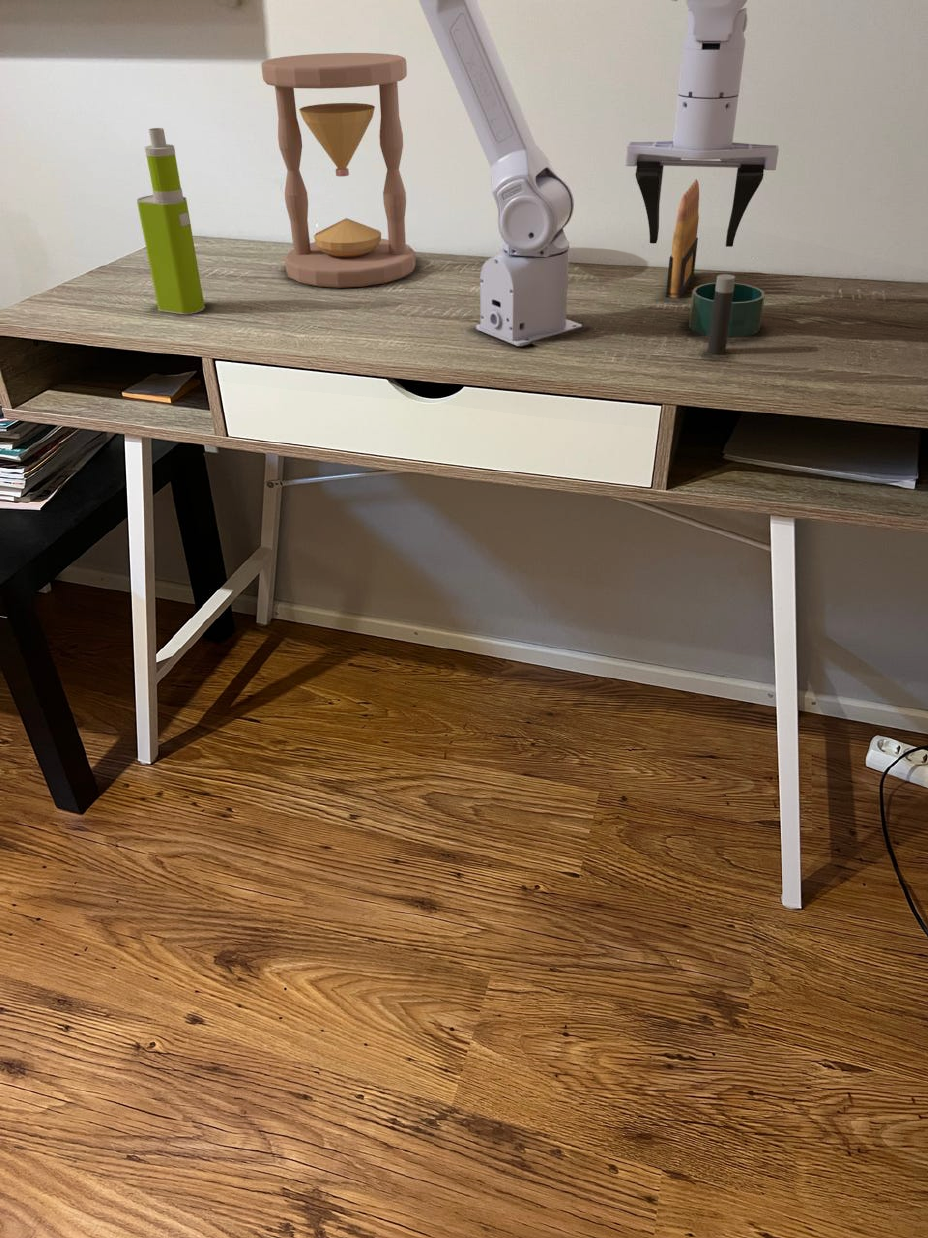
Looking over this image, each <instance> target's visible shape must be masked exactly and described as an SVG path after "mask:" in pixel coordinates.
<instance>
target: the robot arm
mask: <svg viewBox="0 0 928 1238" xmlns="http://www.w3.org/2000/svg"><path fill="white" fill-rule="evenodd" d="M671 1H672V2H677V1H678V0H671ZM747 2H748V0H685V3H686V5H687V7H688V13H687V18H686V19H687V21H686V29H685V30H686V32H685V37H684V38H683V41H682V47H681V59H680V69H679V79H678V88H677V89H678V90H677V97H676V98H677V99H676V109H675V117H674V118H675V119H674V127H673V128H674V129H673V138H672V140H665V141H629V142H628V143H627V145H626V157H625V158H626V159H625V167H636V169H635V172H634V173H635V174H634V175H635V180H636V182H637V186H638V188H639V191H640V194H641V197H642V201H643V203H644V208H645V213H646V216H647V223H648V230H649V231H648V232H649V244H657V243H658V240H659V232H660V205H661V203H660V202H661V192H662V186H663V185H662V183H663V174H664V167H693V168H694V167H696V168H697V167H698V168H727V169H728V168H729V169H730V168H731V169H732V168H733V169H737V170H736V177H735V184H734V185H735V186H734V193H733V201H732V208H731V212H730V217H729V222H728V226H727V231H726V239H725V248H726V247H727V248H732V247H734V242H735V238H736V235H737V232H738V228H739V225H740V224H741V221H742V218H743V216H744V213H745V212H746V210H747V208H748V206H749V204H750V202H751V200H752V198H753V197H754V195H755V193H756V192H757V190H758V188H759V187H760V185H761V183H762V181H763V179H764V173H765V172H764V171H776V169H777V163H778V156H779V151H780V149H779V145H778V144H777V145H774V144H756V143H747V142H745V143H744V142H733V141H734V133H735V125H736V118H737V110H738V102H739V97H740V96H739V94H740V87H741V82H742V81H741V80H742V72H743V65H744V58H745V57H744V56H745V51H746V50H745V49H746V38H745V32H746V29H747V26H748V14H747V13H748V7H745V5H746V4H747ZM418 3H419V5H420V7H421V9H422V11H423V14H424V16H425V18H426V21H427V23H428V25H429V28H430V31H431V33H432V34H433V37H434V40H435V42H436V44H437V46H438V49H439V51H440V53H441V56H442V58H443V60H444V63H445V65H446V67H447V69H448V72H449V75H450V76H451V79H452V81H453V83H454V85H455V88H456V90H457V93H458V95H459V98H460V99H461V103H462V104H463V106H464V109H465V111H466V113H467V116H468V119H469V121H470V123H471V125H472V128H473V129H474V132H475V134H476V137H477V139H478V141H479V143H480V146H481V148H482V150H483V152H484V155H485V157H486V160H487V162H488V164H489V166H490V171H491V172H490V173H491V175H490V176H491V178H490V179H491V182H490V183H491V185H490V187H491V194H492V196H493V199H494V201H495V204H496V209H497V227H498V228H497V229H498V232H499V234H500V237H501V239H502V240H503V241H502V249H501V250H500V252H499V253H498V254H497V255H495V256H493V257H490V258H488V259H487V260H486V261H485V262H484V263H483V265H482V267H481V270H480V275H479V307H480V308H479V309H480V310H479V315H480V316H479V317H480V320H479V322H480V323H479V324H477V325H476V326H475V329H476V330H477V331H479V332H481V333H483V334H486V335H488V336H492V337H494V338H496V339H499V340H501V341H504V342H506V343H508V344H511V345H513V346H515V347H524V346H527V345H531V344H533V342H534V341H538V340H541V339H542V340H543V339H546V338H549V337H553V336H556V335H559V334H564V333H567V332H571V331H573V330H577V329H581V328H583V324H581V323H579V322H576V321H573V320H570V319H567V312H568V311H567V310H568V309H567V308H568V307H567V306H568V288H569V287H568V284H569V260H570V241H569V240H568V238H567V237H566V234H565V231H564V228H565V227H567V225H568V224H569V222H570V221H571V219H572V216H573V213H574V210H575V209H574V208H575V201H574V200H575V199H574V195H573V192H572V190H571V188H570V186H569V185H568V183H566V181H565V180H563V179H562V178H561V177H560V175H558V174H557V172H555V170H554V168H553V166H552V164H551V161H550V159H549V157H548V156H547V155H546V154H545V152H543V150H541V148H540V147H539V146H538V145H537V144H536V142H535V138H534V136H533V134H532V131H531V129H530V127H529V125H528V122H527V120H526V117H525V114H524V112H523V109H522V108H521V105H520V102H519V100H518V97H517V94H516V93H515V90H514V88H513V86H512V83H511V81H510V78H509V76H508V72H507V71H506V69H505V65H504V64H503V61H502V59H501V56H500V54H499V52H498V49H497V46H496V44H495V41H494V39H493V36H492V35H491V31H490V30H489V27H488V25H487V22H486V19H485V17H484V15H483V13H482V9H481V7H480V5H479V3H478V0H418Z"/></svg>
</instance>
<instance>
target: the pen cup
mask: <svg viewBox="0 0 928 1238" xmlns="http://www.w3.org/2000/svg"><path fill="white" fill-rule="evenodd" d="M715 289H716V282H709V283H703V284H699V285H698V286H695V287H694V288H693V289H692V292H691V299H690V308H689V317H688V327H689V328H690V329H691V330H692V331H694V332H696V333H698V334H701V335H705V336H710V328H711V320H712V312H713V304H714V296H715ZM765 298H766V293H765V292H764V290H762V289H760V288H759V287H757V286H753V285H750V284H745V283H738V282H735V284H734V291H733V298H732V306H731V313H730V320H729V327H728V335H727V339H729V338H730V339H732V338H734V339H735V338H744V337H749V336H752V335H755V334H757V333H758V332H759V331H760V329H761V324H762V317H763V313H764V312H763V310H764V304H765Z"/></svg>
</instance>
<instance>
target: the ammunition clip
mask: <svg viewBox="0 0 928 1238" xmlns="http://www.w3.org/2000/svg"><path fill="white" fill-rule="evenodd" d="M699 204H700V186H699V181H698V179H695V180H694V182H692V184H691V185H690V186H689V188H687V190H686V191H685V192H684V194H683V195H682V197H681V199H680V203H679V206H678V209H677V216H676V221H675V228H674V231H673V235H672V246H671V253H670V254H671V255H670V256H669V259H668V269H667V279H666V289H665V298H668V297H669V298H675V299H676V298H678V299H681V298H682V297H683V295H684V293H685V292H686V290H687V288H688V286H689V285H690V283H691V281H692V279H693V277H694V275H695V271H696V270H695V268H696V260H697V250H698V241H699V238H698V229H699V228H698V227H699V220H700V218H699V215H700V214H699Z"/></svg>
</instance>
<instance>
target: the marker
mask: <svg viewBox="0 0 928 1238" xmlns="http://www.w3.org/2000/svg"><path fill="white" fill-rule="evenodd" d="M715 283H716V289H715V296H714V304H713V312H712V320H711V328H710V336H709V337H708V345H707V353H708V354H710V355H715V356H720V355H725V354H726V349H727V341H728V338H727V335H728V327H729V320H730V313H731V306H732V298H733V291H734V284H735V283H736V276H735V275H733V274H727V273H723V274H719V275H717V276H716V282H715Z"/></svg>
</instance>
